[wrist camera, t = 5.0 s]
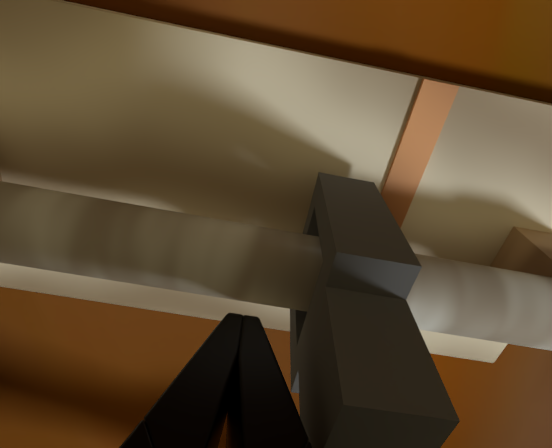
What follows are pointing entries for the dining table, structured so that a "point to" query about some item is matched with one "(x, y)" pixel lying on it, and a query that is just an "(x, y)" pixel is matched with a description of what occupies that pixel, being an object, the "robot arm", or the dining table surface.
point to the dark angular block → (364, 331)
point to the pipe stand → (259, 175)
